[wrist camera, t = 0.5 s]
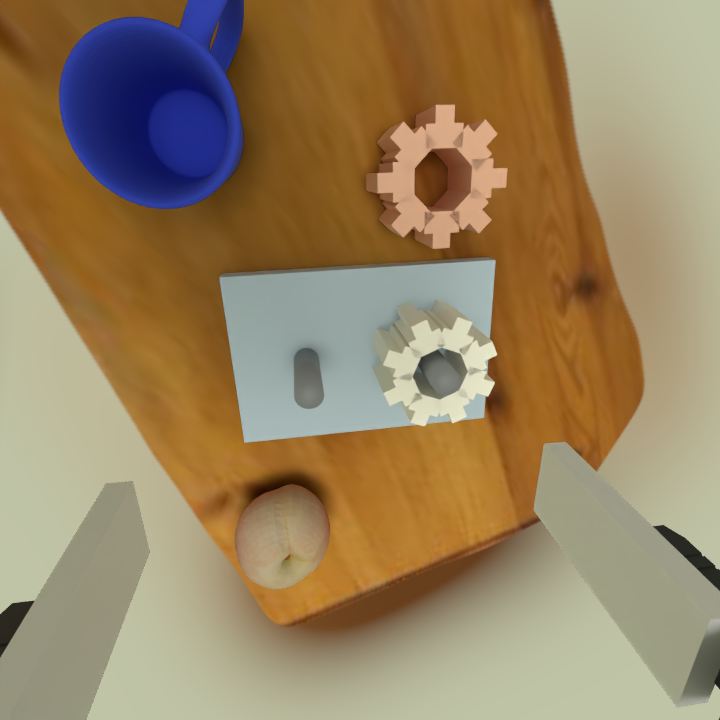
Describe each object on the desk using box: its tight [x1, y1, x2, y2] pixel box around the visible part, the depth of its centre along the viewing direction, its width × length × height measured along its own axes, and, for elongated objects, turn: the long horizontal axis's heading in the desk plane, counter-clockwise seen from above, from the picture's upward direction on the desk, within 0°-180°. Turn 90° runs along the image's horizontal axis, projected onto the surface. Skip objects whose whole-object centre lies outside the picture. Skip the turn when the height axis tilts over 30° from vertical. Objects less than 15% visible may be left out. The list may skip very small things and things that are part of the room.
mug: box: [59, 0, 244, 209], centre depth 26 cm, size 8×12×10 cm
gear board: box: [219, 257, 496, 443], centre depth 35 cm, size 14×21×8 cm, turn 92°
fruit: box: [235, 484, 330, 589], centre depth 40 cm, size 8×8×8 cm
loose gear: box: [366, 105, 507, 249], centre depth 32 cm, size 9×9×5 cm
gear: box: [372, 299, 497, 426], centre depth 35 cm, size 9×9×5 cm
